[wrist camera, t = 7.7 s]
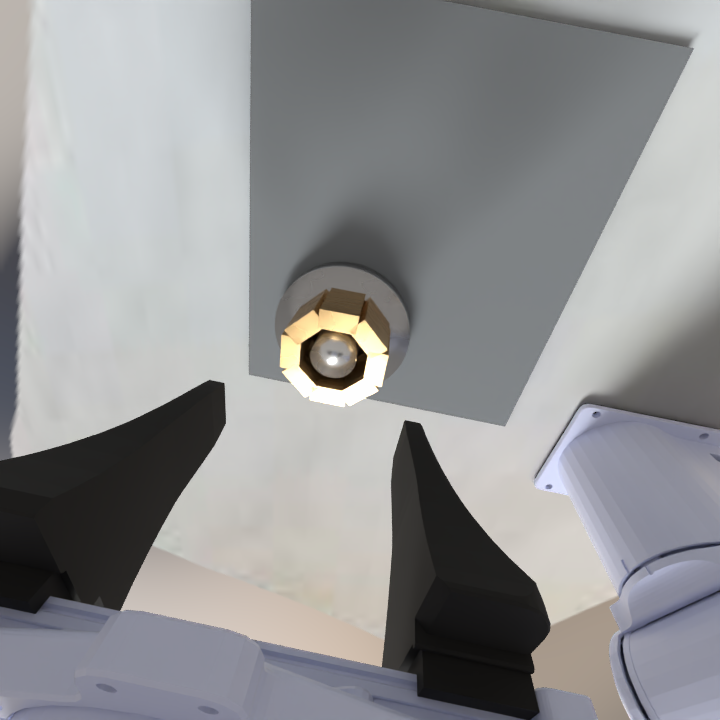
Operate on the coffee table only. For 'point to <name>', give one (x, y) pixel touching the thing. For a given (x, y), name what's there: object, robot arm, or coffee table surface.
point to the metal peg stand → (340, 349)
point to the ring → (346, 317)
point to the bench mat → (442, 174)
